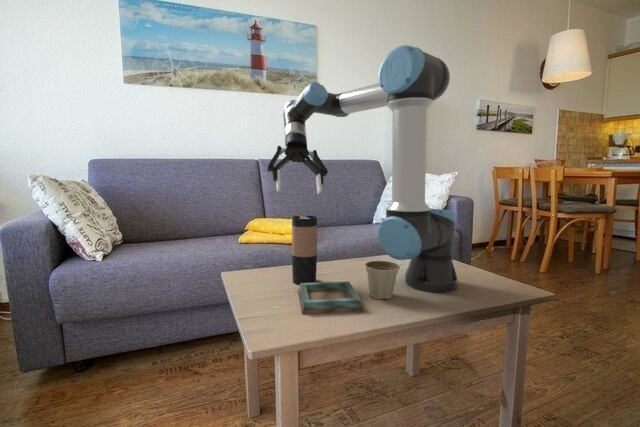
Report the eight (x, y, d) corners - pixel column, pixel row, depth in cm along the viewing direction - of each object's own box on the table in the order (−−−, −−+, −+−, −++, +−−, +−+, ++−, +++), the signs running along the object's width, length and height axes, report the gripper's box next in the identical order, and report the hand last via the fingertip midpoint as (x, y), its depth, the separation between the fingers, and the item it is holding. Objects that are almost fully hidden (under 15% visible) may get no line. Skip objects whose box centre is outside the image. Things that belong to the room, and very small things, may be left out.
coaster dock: (350, 289, 97) (350, 280, 97) (363, 311, 82) (363, 300, 82) (297, 291, 95) (297, 282, 95) (301, 313, 81) (301, 303, 80)
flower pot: (398, 291, 96) (399, 261, 95) (398, 303, 87) (400, 271, 86) (365, 288, 98) (366, 259, 97) (362, 300, 89) (363, 268, 88)
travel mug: (306, 287, 99) (306, 219, 96) (286, 282, 103) (286, 217, 101) (321, 280, 105) (322, 216, 102) (302, 275, 109) (303, 214, 107)
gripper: (326, 149, 125) (332, 199, 115) (258, 141, 118) (258, 193, 108) (332, 136, 119) (339, 187, 109) (261, 126, 111) (262, 181, 102)
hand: (299, 191), depth 108 cm, fingers open, 13 cm apart
